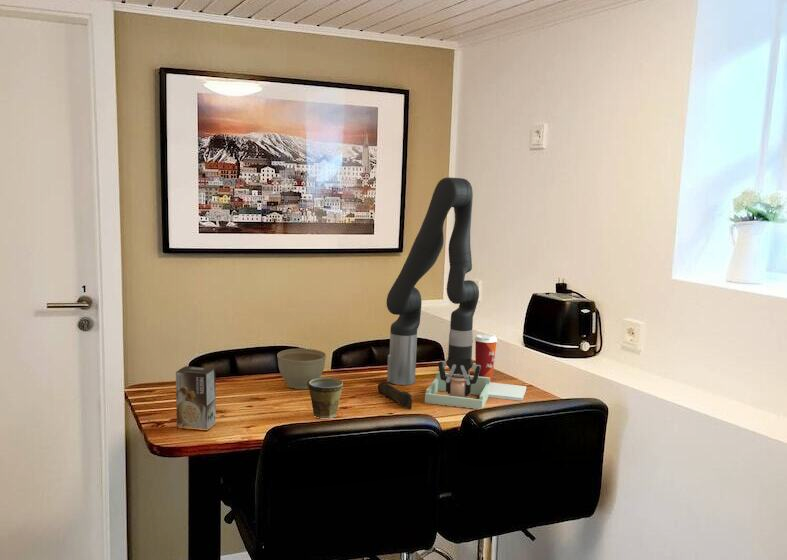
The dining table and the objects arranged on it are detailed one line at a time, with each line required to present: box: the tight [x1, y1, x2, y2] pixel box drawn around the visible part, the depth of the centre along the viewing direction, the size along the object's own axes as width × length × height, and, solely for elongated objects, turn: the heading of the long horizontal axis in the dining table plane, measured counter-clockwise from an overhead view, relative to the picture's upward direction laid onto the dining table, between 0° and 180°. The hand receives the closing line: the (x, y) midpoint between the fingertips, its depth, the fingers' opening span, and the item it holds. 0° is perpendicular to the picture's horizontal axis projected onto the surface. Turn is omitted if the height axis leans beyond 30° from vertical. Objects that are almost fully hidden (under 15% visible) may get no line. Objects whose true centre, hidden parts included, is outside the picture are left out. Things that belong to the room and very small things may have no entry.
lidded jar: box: [449, 374, 467, 398], centre depth 220 cm, size 6×6×8 cm
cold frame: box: [424, 371, 491, 410], centre depth 220 cm, size 18×16×6 cm
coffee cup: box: [474, 333, 498, 380], centre depth 247 cm, size 8×8×15 cm
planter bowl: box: [276, 348, 327, 390], centre depth 228 cm, size 16×16×11 cm
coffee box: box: [175, 365, 217, 429], centre depth 187 cm, size 9×6×16 cm
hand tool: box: [377, 381, 413, 410], centre depth 216 cm, size 19×4×5 cm, turn 26°
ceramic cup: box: [307, 377, 344, 419], centre depth 201 cm, size 13×10×10 cm
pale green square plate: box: [478, 381, 527, 402], centre depth 229 cm, size 14×14×1 cm
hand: (458, 394), depth 220 cm, fingers closed on lidded jar, 5 cm apart
